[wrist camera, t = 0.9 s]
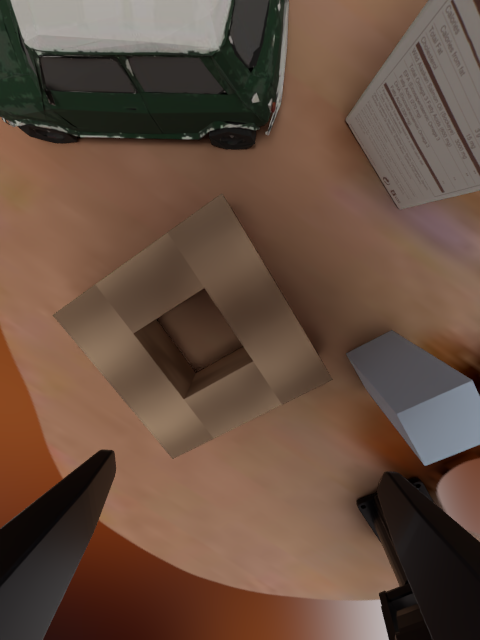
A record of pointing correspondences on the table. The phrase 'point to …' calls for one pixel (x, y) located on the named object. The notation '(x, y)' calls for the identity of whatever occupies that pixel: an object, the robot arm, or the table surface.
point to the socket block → (164, 357)
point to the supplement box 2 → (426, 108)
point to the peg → (420, 396)
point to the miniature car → (142, 68)
